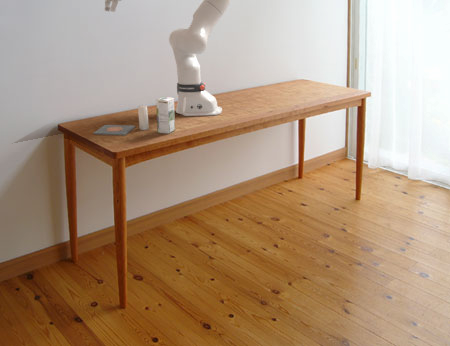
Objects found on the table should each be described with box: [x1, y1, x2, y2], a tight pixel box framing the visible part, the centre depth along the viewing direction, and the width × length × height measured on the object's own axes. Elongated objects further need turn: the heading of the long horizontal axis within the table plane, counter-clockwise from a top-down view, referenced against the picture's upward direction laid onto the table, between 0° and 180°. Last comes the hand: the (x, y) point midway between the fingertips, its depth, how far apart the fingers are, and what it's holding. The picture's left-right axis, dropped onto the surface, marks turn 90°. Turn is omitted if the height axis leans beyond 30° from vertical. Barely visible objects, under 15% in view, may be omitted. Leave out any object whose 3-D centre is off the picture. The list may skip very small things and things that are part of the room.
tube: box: [137, 105, 150, 131], centre depth 238 cm, size 4×4×10 cm
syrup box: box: [155, 96, 176, 134], centre depth 233 cm, size 6×6×14 cm
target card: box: [93, 124, 136, 136], centre depth 238 cm, size 14×13×1 cm
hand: (109, 11), depth 231 cm, fingers open, 8 cm apart
